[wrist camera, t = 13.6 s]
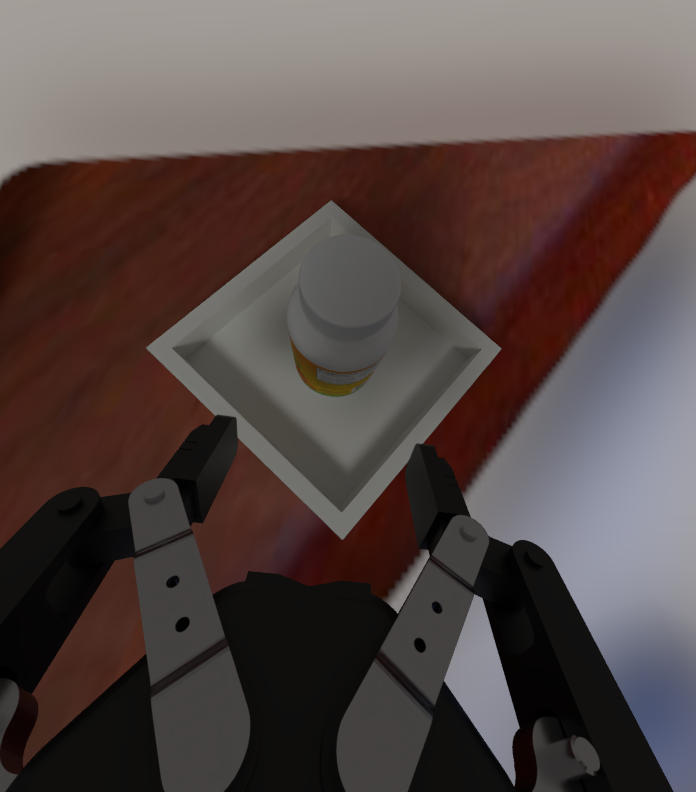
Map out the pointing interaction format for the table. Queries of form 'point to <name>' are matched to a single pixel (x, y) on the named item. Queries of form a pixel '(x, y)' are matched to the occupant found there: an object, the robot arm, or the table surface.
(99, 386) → the table surface
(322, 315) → the supplement bottle
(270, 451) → the tray
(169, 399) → the table surface
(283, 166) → the table surface
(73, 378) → the table surface
